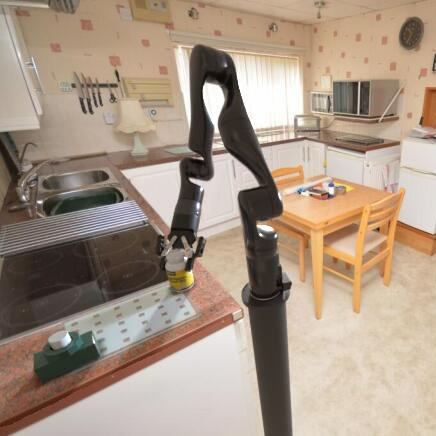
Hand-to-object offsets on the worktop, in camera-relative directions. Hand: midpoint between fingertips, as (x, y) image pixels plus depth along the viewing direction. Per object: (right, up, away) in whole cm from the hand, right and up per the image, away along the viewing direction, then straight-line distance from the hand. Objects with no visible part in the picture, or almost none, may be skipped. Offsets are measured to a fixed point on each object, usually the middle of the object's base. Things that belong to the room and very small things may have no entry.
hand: (175, 270), depth 84 cm
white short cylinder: (-13, -12, -22) cm, 28 cm away
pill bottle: (0, -6, +5) cm, 7 cm away
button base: (-13, -17, -19) cm, 29 cm away
